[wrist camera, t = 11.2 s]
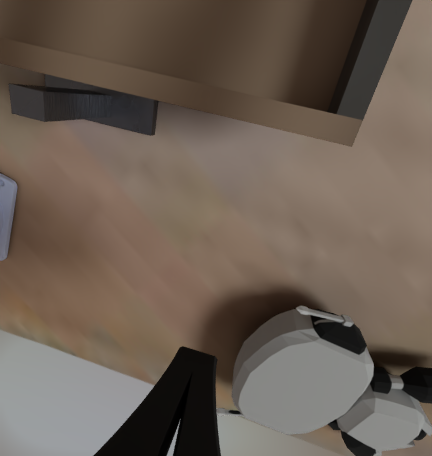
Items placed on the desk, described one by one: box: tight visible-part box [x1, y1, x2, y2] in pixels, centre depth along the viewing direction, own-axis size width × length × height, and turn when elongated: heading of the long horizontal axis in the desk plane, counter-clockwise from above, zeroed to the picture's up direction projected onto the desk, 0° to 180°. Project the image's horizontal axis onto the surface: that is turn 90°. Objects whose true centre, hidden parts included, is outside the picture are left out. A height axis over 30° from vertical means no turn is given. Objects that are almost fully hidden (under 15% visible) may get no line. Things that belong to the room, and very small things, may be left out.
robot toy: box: [216, 306, 432, 456], centre depth 21 cm, size 12×4×15 cm
